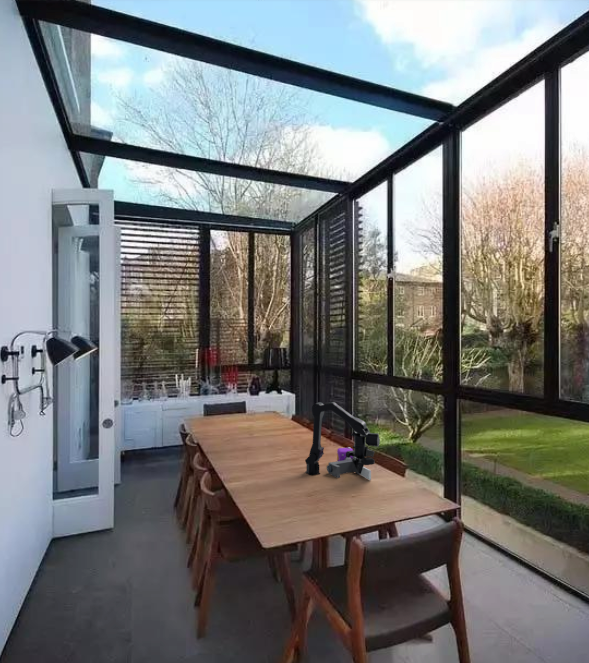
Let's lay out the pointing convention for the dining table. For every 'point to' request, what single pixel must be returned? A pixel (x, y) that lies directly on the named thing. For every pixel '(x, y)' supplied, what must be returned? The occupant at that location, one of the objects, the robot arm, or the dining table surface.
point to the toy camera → (343, 454)
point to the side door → (366, 473)
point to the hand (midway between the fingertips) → (359, 473)
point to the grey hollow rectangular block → (341, 467)
